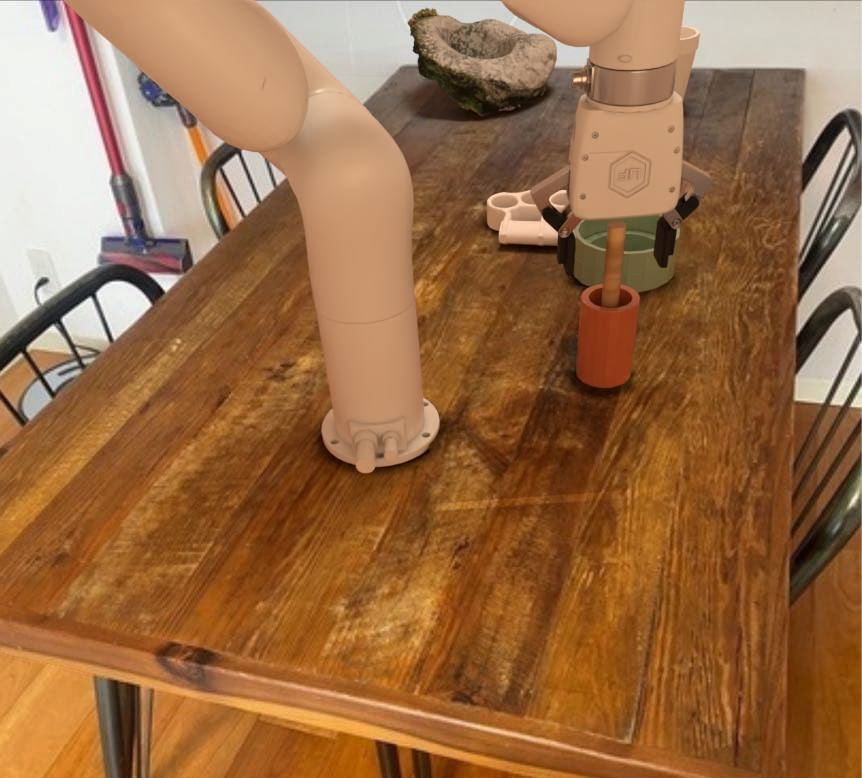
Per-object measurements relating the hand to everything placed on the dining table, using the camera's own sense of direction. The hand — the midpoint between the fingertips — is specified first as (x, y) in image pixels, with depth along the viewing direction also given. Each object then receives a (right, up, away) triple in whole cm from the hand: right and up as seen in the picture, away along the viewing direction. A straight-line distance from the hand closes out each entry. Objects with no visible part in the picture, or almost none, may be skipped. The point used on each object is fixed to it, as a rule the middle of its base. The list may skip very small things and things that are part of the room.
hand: (613, 265), depth 87 cm
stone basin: (-8, +60, +82) cm, 102 cm away
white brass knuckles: (-2, +17, +38) cm, 41 cm away
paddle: (+1, -9, +9) cm, 13 cm away
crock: (+1, -10, +9) cm, 14 cm away
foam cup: (+23, +50, +69) cm, 88 cm away
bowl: (+7, +7, +27) cm, 28 cm away
